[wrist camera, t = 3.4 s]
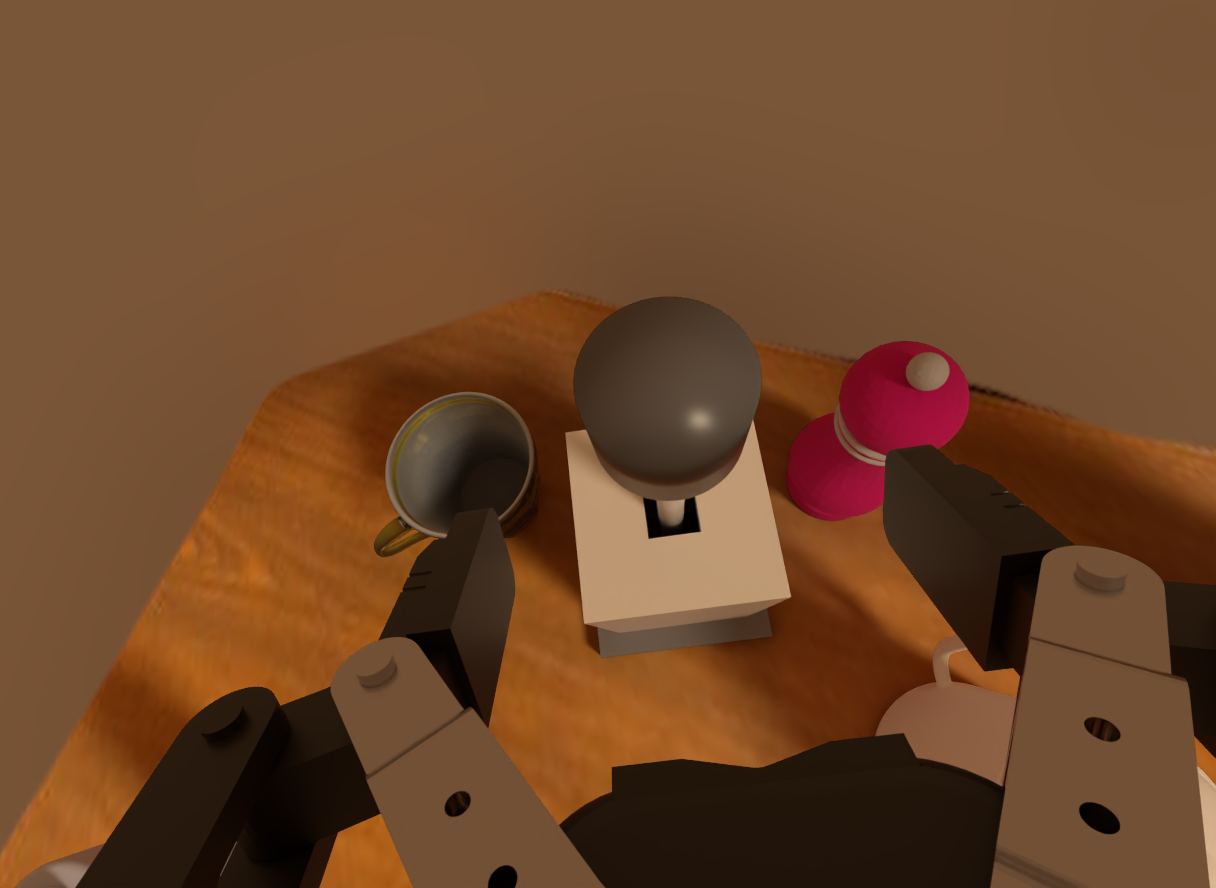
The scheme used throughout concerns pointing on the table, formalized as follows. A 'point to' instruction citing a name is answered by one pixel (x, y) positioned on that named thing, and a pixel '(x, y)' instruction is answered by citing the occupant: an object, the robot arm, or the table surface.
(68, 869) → the spray bottle
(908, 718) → the coffeepot
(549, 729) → the table surface
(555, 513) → the table surface
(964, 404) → the pepper mill
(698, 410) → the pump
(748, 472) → the dispenser
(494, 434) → the ceramic cup
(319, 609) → the table surface
